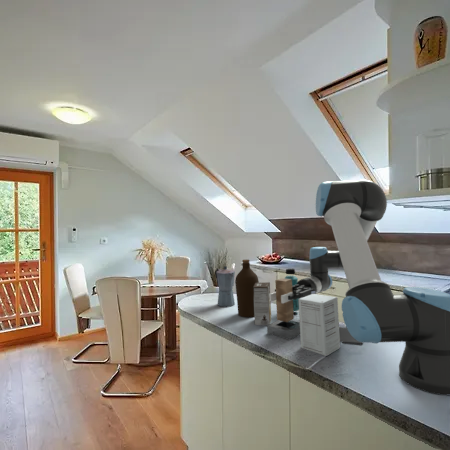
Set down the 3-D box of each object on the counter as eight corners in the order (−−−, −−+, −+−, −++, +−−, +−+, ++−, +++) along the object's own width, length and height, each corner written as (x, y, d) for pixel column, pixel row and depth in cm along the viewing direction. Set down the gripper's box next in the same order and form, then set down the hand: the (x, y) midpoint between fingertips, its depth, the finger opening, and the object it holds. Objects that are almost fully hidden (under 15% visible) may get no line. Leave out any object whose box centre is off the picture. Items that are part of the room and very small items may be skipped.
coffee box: (256, 319, 138) (255, 282, 138) (271, 319, 137) (270, 282, 136) (254, 326, 129) (252, 286, 129) (270, 326, 128) (268, 286, 127)
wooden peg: (293, 319, 119) (291, 279, 119) (287, 322, 116) (285, 281, 116) (283, 317, 122) (281, 278, 122) (277, 319, 119) (275, 280, 119)
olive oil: (249, 319, 138) (246, 262, 137) (232, 315, 145) (229, 260, 145) (264, 313, 145) (262, 259, 145) (247, 309, 153) (245, 257, 152)
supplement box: (341, 348, 104) (339, 297, 104) (326, 357, 98) (323, 303, 97) (315, 340, 111) (313, 292, 111) (299, 349, 105) (297, 298, 105)
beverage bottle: (292, 315, 140) (290, 270, 140) (281, 312, 146) (280, 269, 145) (302, 312, 144) (300, 268, 143) (292, 309, 149) (290, 267, 149)
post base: (304, 332, 119) (304, 323, 119) (290, 340, 112) (290, 331, 112) (282, 327, 126) (282, 318, 126) (267, 334, 119) (266, 325, 119)
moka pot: (228, 309, 155) (226, 268, 154) (208, 304, 166) (206, 266, 166) (242, 305, 161) (240, 265, 161) (222, 300, 173) (220, 263, 172)
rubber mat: (362, 344, 106) (362, 342, 106) (325, 341, 110) (324, 340, 110) (359, 330, 119) (359, 328, 119) (325, 328, 123) (325, 326, 123)
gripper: (328, 298, 126) (297, 312, 109) (290, 293, 138) (257, 305, 121) (327, 279, 126) (296, 291, 109) (289, 276, 138) (256, 285, 121)
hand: (276, 298), depth 115 cm, fingers closed on wooden peg, 4 cm apart
